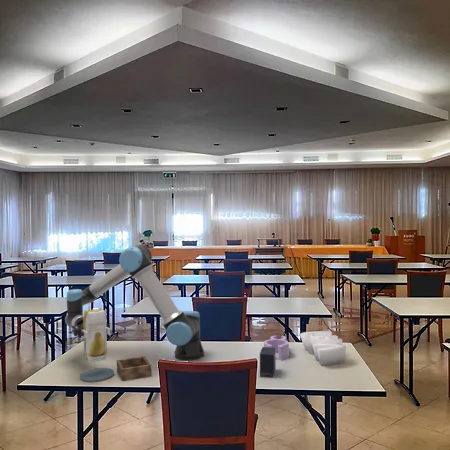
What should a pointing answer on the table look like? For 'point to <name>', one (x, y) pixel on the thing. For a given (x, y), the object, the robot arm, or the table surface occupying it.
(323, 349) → the white wavy slab sculpture
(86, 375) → the rubber coaster
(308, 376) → the table surface
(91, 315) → the juice carton
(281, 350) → the lilac desk organizer
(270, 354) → the small box
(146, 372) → the walnut collar
